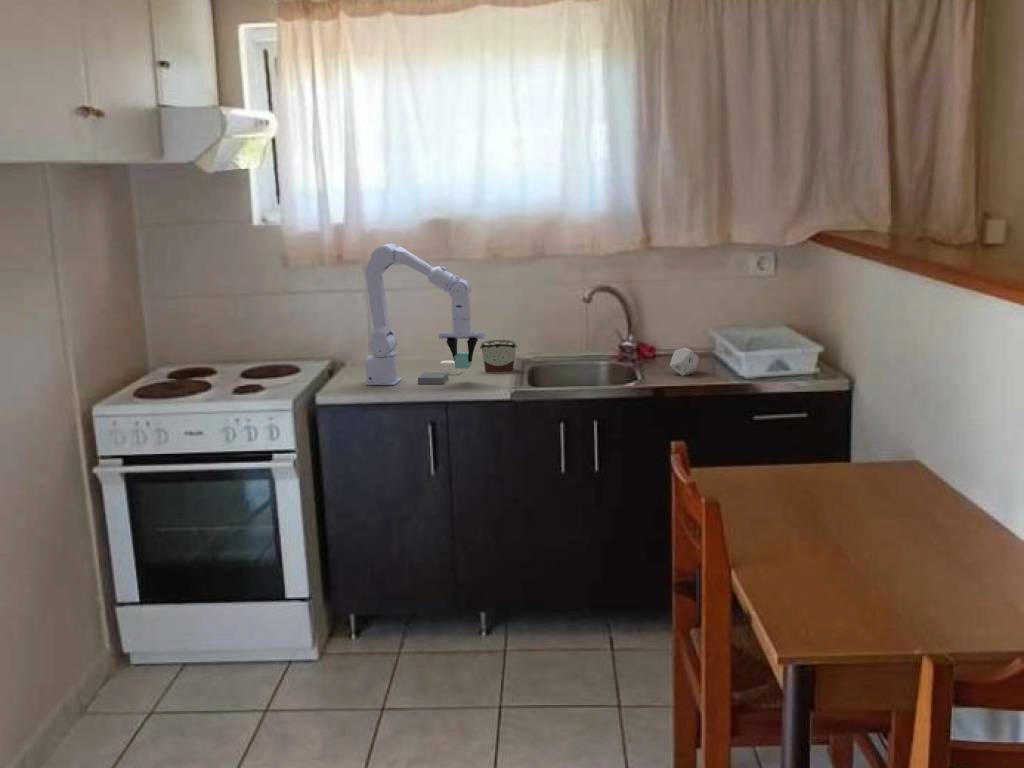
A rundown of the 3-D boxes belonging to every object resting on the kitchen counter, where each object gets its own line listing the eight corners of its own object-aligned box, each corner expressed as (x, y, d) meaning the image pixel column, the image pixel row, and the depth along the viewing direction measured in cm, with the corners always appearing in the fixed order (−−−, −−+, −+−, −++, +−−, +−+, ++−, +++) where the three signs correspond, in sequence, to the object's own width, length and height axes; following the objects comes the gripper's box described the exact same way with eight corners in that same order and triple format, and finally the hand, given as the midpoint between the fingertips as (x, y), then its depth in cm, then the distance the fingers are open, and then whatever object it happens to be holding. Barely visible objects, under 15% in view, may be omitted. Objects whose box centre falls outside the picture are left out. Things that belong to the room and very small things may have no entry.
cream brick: (440, 374, 334) (439, 363, 334) (443, 372, 338) (442, 360, 337) (458, 374, 334) (457, 363, 333) (460, 372, 337) (460, 360, 336)
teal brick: (455, 368, 317) (454, 355, 317) (459, 364, 323) (458, 352, 322) (467, 368, 317) (467, 356, 316) (471, 364, 323) (470, 352, 322)
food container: (519, 368, 339) (518, 338, 337) (518, 372, 334) (517, 342, 331) (483, 368, 341) (481, 339, 338) (480, 372, 335) (479, 343, 332)
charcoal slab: (418, 385, 322) (417, 377, 321) (424, 379, 329) (423, 372, 329) (442, 385, 320) (442, 378, 320) (448, 380, 328) (448, 372, 328)
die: (666, 378, 321) (681, 356, 315) (663, 359, 328) (678, 337, 322) (690, 385, 323) (705, 363, 317) (687, 366, 330) (702, 345, 324)
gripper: (435, 320, 314) (437, 363, 317) (481, 320, 312) (483, 364, 315) (440, 316, 321) (442, 359, 324) (486, 316, 318) (487, 359, 321)
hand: (463, 361), depth 320 cm, fingers closed on teal brick, 4 cm apart
